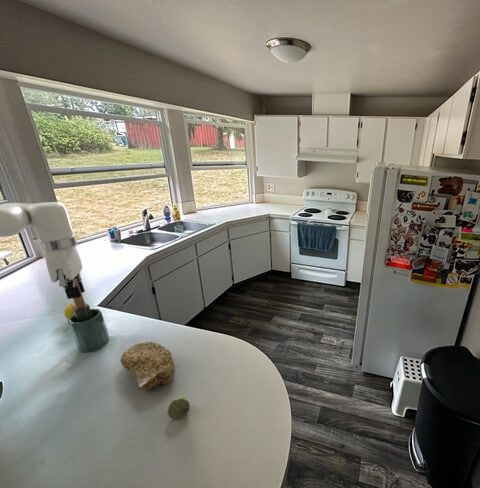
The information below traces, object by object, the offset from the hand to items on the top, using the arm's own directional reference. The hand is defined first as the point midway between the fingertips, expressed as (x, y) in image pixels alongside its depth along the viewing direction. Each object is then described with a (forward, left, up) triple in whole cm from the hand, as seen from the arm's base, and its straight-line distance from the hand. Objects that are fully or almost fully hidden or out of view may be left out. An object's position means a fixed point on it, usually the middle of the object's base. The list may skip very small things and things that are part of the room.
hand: (76, 294), depth 83 cm
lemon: (-10, +19, -21) cm, 30 cm away
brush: (0, 0, -11) cm, 11 cm away
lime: (+28, -42, -21) cm, 55 cm away
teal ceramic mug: (0, 0, -20) cm, 20 cm away
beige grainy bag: (+19, -22, -21) cm, 36 cm away
